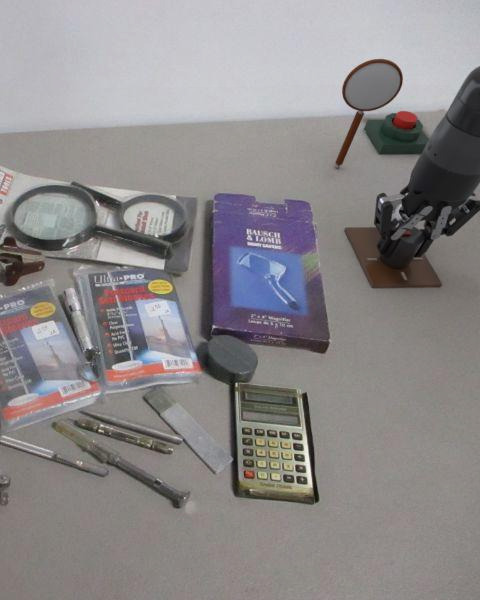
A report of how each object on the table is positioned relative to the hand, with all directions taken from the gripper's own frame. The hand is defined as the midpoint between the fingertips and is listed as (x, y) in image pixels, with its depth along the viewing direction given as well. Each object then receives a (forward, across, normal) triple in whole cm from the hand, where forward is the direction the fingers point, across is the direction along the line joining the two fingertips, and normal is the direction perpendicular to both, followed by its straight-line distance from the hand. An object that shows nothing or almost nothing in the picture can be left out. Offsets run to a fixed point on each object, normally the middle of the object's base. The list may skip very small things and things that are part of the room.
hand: (398, 252), depth 86 cm
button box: (+4, +14, +33) cm, 36 cm away
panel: (+4, 0, +1) cm, 4 cm away
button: (0, +14, +33) cm, 36 cm away
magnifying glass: (+4, 0, +25) cm, 26 cm away
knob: (+1, 0, 0) cm, 1 cm away
